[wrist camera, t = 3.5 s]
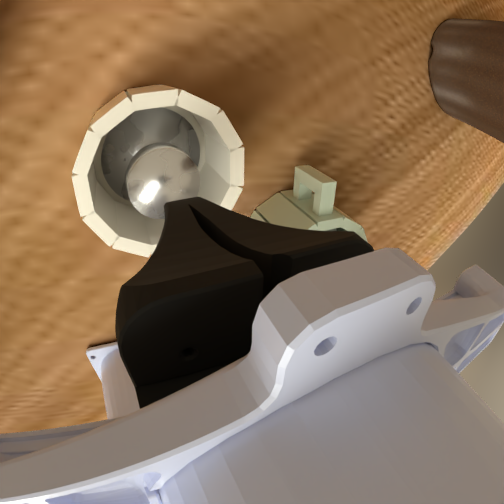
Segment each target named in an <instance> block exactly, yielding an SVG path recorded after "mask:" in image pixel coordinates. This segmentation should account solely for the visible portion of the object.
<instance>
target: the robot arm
mask: <svg viewBox="0 0 504 504" xmlns="http://www.w3.org/2000/svg"><path fill="white" fill-rule="evenodd" d="M164 213H165V222H164V227H163V230H162V233H161V237H160V239H159V242H158V244H157V246H156V248H155V250H154V252H153V254H152V255H151V257H150V259H149V260H148V262H147V263H146V264H145V265H144V267H143V268H142V269H141V270H140V271H139V272H138V273H137V274H136V275H135V276H133V277H132V278H131V279H130V280H129V281H127V282H126V283H125V284H123V285H122V287H121V289H120V293H119V298H118V303H117V310H116V325H115V328H116V338H117V342H114V343H109V344H105V345H100V346H96V347H91V348H88V349H87V350H86V354H87V356H88V358H89V360H90V362H91V364H92V366H93V367H94V369H95V371H96V373H97V375H98V376H99V378H100V380H101V381H102V387H103V393H104V400H105V406H106V412H107V418H108V420H102V421H97V422H91V423H86V424H80V425H74V426H67V427H60V428H53V429H45V430H37V431H28V432H17V433H5V434H0V504H504V423H503V422H502V421H501V420H500V419H499V417H498V416H497V415H496V414H495V413H494V412H493V411H492V409H491V408H490V407H489V406H488V405H487V404H486V403H485V402H484V401H483V399H482V398H481V397H480V396H479V395H478V394H477V393H476V392H475V391H474V390H473V388H472V387H471V386H470V385H469V384H468V383H467V382H466V381H465V380H464V379H463V378H462V377H461V375H460V374H459V373H460V372H461V371H462V370H463V369H464V368H465V367H466V366H467V365H468V364H469V363H470V362H471V361H472V360H473V359H474V358H475V357H476V356H478V355H479V354H480V353H481V352H482V351H483V350H484V349H485V348H486V347H487V346H488V345H489V344H490V343H491V341H492V340H493V338H494V337H495V335H496V333H497V332H498V331H499V329H500V327H501V326H502V324H503V323H504V286H502V285H501V284H500V283H499V282H497V281H496V280H495V279H494V278H493V277H491V276H490V275H489V274H488V273H486V272H485V271H484V270H482V269H481V268H480V267H479V266H477V265H474V266H472V267H470V268H468V269H466V270H464V271H463V272H462V273H461V274H460V275H459V277H458V279H457V281H456V283H455V286H454V290H452V291H450V292H448V293H446V294H445V295H443V296H441V297H439V298H438V299H436V300H434V301H432V300H433V296H434V292H435V281H434V279H433V277H432V275H431V274H430V273H429V272H428V271H427V270H425V269H424V268H423V267H422V266H421V265H419V264H418V263H417V262H416V261H414V260H413V259H412V258H411V257H409V256H408V255H407V254H405V253H404V252H403V251H402V250H400V249H399V248H383V249H380V250H376V251H374V249H373V247H372V246H371V245H370V244H369V243H367V242H366V241H365V240H364V239H363V238H361V237H360V236H359V235H358V234H357V233H355V232H354V231H318V230H306V229H297V228H291V227H285V226H280V225H275V224H271V223H267V222H263V221H259V220H256V219H253V218H249V217H247V216H244V215H241V214H238V213H236V212H233V211H231V210H229V209H226V208H224V207H222V206H220V205H217V204H215V203H213V202H211V201H209V200H206V199H204V198H201V197H192V198H187V199H181V200H176V201H171V202H166V203H165V205H164Z"/></svg>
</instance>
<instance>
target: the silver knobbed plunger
mask: <svg viewBox="0 0 504 504" xmlns="http://www.w3.org/2000/svg"><path fill="white" fill-rule="evenodd" d="M199 159H200V144H199V140H198V137H197V134H196V132H195V130H194V129H193V127H192V126H191V124H190V123H189V122H188V121H187V120H186V119H185V118H184V117H182V116H181V115H180V114H178V113H176V112H174V111H172V110H170V109H167V108H163V107H159V108H151V109H144V110H138V111H134V112H133V113H132V114H130V115H129V116H128V117H126V118H125V119H124V120H123V121H121V122H120V123H119V124H117V125H116V126H115V127H114V128H112V129H111V130H110V131H109V132H108V134H107V136H106V138H105V140H104V143H103V147H102V153H101V166H102V171H103V174H104V177H105V179H106V181H107V183H108V185H109V186H110V187H111V189H112V190H113V191H114V192H115V193H116V194H118V195H119V196H120V197H122V198H124V199H126V200H128V201H131V203H132V204H133V206H134V207H135V209H137V210H138V211H139V212H140V213H141V214H143V215H145V216H147V217H150V218H153V219H165V213H164V205H165V203H166V202H171V201H176V200H181V199H187V198H192V197H197V195H198V192H199V188H200V174H199V171H198V164H199Z"/></svg>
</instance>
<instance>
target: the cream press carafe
mask: <svg viewBox="0 0 504 504" xmlns="http://www.w3.org/2000/svg"><path fill="white" fill-rule="evenodd" d="M159 107H163V108H167V109H170V110H172V111H174V112H176V113H178V114H180V115H181V116H182V117H184V118H185V119H186V120H187V121H188V122H189V123H190V124H191V126H192V127H193V129H194V130H195V132H196V134H197V137H198V140H199V144H200V159H199V164H198V171H199V174H200V188H199V192H198V195H197V197H201V198H204V199H206V200H209V201H211V202H213V203H215V204H217V205H220V206H222V207H224V208H226V209H229V210H232V208H233V207H234V205H235V203H236V201H237V199H238V197H239V195H240V194H241V192H242V190H243V188H242V187H241V186H244V147H243V146H241V145H243V143H242V141H241V139H240V138H239V136H238V134H237V133H236V131H235V129H234V128H233V126H232V124H231V123H230V121H229V119H228V118H227V116H226V114H225V113H224V111H223V110H220V108H219V107H217V106H215V105H213V104H211V103H209V102H207V101H205V100H203V99H201V98H199V97H196V96H194V95H192V94H190V93H188V92H186V91H184V90H181V89H177V88H174V87H170V86H167V85H162V84H160V85H152V86H144V87H137V88H130V89H127V91H126V92H125V91H122V92H121V93H120V94H118V95H117V96H116V97H114V98H113V99H112V100H110V101H109V102H108V103H107V104H105V105H104V106H103V107H102V108H100V109H99V110H98V111H97V112H96V113H95V115H94V116H93V118H92V120H91V123H90V125H89V128H88V130H87V133H86V135H85V138H84V140H83V143H82V146H81V148H80V151H79V154H78V157H77V159H76V162H75V165H74V168H73V171H72V173H73V174H72V181H73V186H74V190H75V195H76V199H77V204H78V208H79V212H80V216H83V218H82V220H83V221H84V222H85V223H86V224H87V225H88V226H89V227H90V228H91V229H92V230H93V231H94V232H95V233H96V234H97V235H98V236H99V237H100V238H101V239H102V240H103V241H104V242H105V243H106V244H107V245H108V246H109V247H110V246H111V245H112V248H113V249H117V250H121V251H125V252H129V253H133V254H137V255H141V256H145V257H149V256H150V253H151V255H152V254H153V252H154V250H155V248H156V246H157V244H158V242H159V239H160V237H161V233H162V230H163V227H164V222H165V219H153V218H150V217H147V216H145V215H143V214H141V213H140V212H139V211H138V210H137V209H135V207H134V206H133V204H132V203H131V201H128V200H126V199H124V198H122V197H120V196H119V195H118V194H116V193H115V192H114V191H113V190H112V189H111V187H110V186H109V185H108V183H107V181H106V179H105V177H104V174H103V171H102V166H101V153H102V147H103V143H104V140H105V138H106V136H107V134H108V132H109V131H110V130H111V129H112V128H114V127H115V126H116V125H117V124H119V123H120V122H121V121H123V120H124V119H125V118H126V117H128V116H129V115H130V114H132V113H133V112H134V111H138V110H144V109H151V108H159Z"/></svg>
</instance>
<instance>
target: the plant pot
mask: <svg viewBox="0 0 504 504" xmlns="http://www.w3.org/2000/svg"><path fill="white" fill-rule="evenodd" d="M431 45H432V46H433V53H432V56H431V58H430V59H429V73H430V80H431V85H432V89H433V92H434V95H435V98H436V100H437V102H438V104H439V105H440V107H441V108H442V110H443V111H444V112H445V113H447V114H448V115H450V116H452V117H454V118H456V119H458V120H460V121H463V122H465V123H467V124H469V125H471V126H473V127H475V128H477V129H479V130H481V131H483V132H485V133H486V134H488V135H490V136H492V137H494V138H496V139H497V140H499V141H501V142H503V143H504V22H502V21H491V20H473V19H449V20H446V21H445V22H443V23H442V24H441V25H440V26H439V27H438V28H437V30H436V31H435V33H434V35H433V38H432V41H431Z"/></svg>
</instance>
